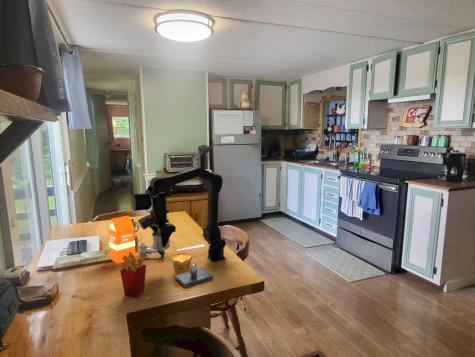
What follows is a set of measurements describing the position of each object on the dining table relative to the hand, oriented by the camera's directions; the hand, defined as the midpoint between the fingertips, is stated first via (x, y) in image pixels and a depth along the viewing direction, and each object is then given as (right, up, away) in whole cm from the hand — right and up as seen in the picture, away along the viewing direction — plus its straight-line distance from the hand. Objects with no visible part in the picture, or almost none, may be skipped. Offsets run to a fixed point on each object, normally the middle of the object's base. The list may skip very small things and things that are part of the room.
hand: (161, 244), depth 126 cm
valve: (-9, -10, +17) cm, 22 cm away
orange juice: (-22, -10, +16) cm, 29 cm away
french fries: (-6, -14, -17) cm, 23 cm away
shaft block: (+15, -13, -5) cm, 20 cm away
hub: (0, -1, 0) cm, 1 cm away
